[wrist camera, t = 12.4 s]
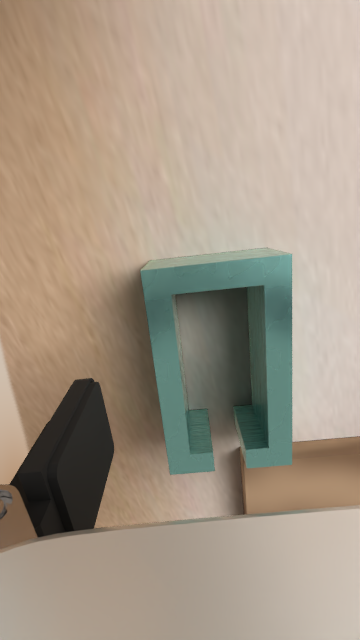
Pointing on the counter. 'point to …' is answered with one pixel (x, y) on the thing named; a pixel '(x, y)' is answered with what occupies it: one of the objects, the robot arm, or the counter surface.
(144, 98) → the counter surface
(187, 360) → the counter surface
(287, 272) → the c link
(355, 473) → the stand
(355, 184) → the counter surface
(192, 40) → the counter surface
